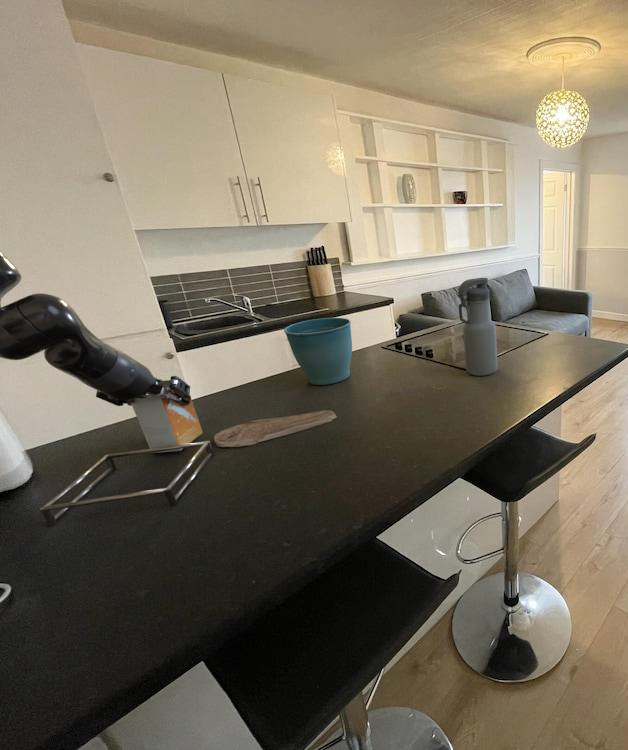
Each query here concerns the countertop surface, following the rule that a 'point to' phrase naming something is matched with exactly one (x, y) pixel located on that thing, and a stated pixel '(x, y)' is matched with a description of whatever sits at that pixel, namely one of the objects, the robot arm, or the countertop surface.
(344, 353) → the flower pot
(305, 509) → the countertop surface
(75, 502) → the metal rack
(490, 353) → the water bottle
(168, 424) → the small box
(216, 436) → the fish fossil
